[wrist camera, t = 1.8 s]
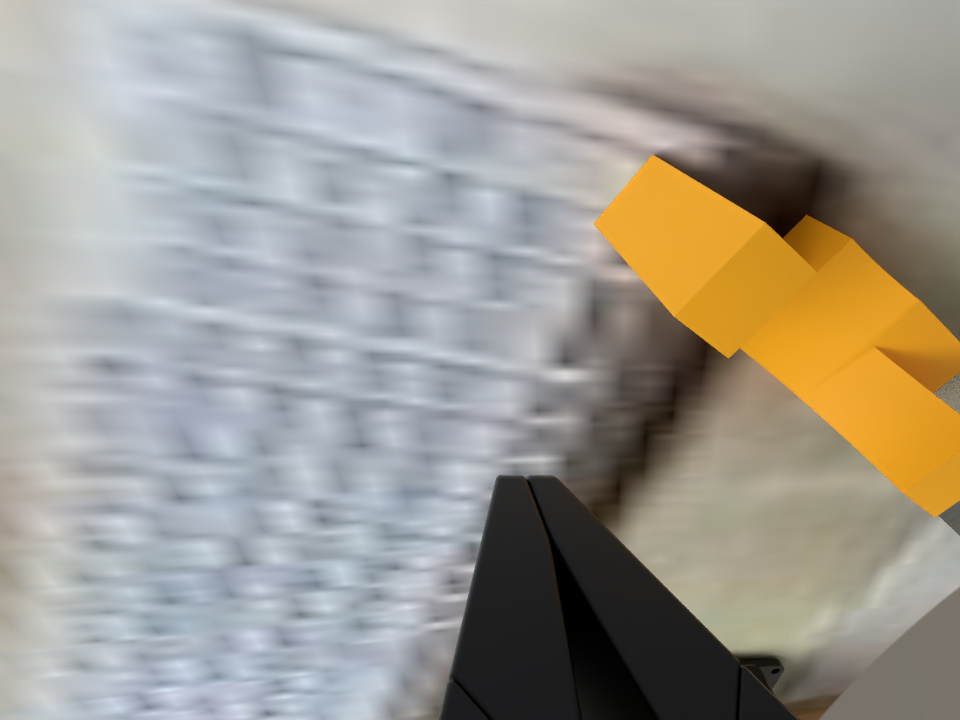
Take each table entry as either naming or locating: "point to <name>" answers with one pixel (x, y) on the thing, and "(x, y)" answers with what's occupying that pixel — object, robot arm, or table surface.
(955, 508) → the rail
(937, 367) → the pipe clamp
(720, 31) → the table surface
